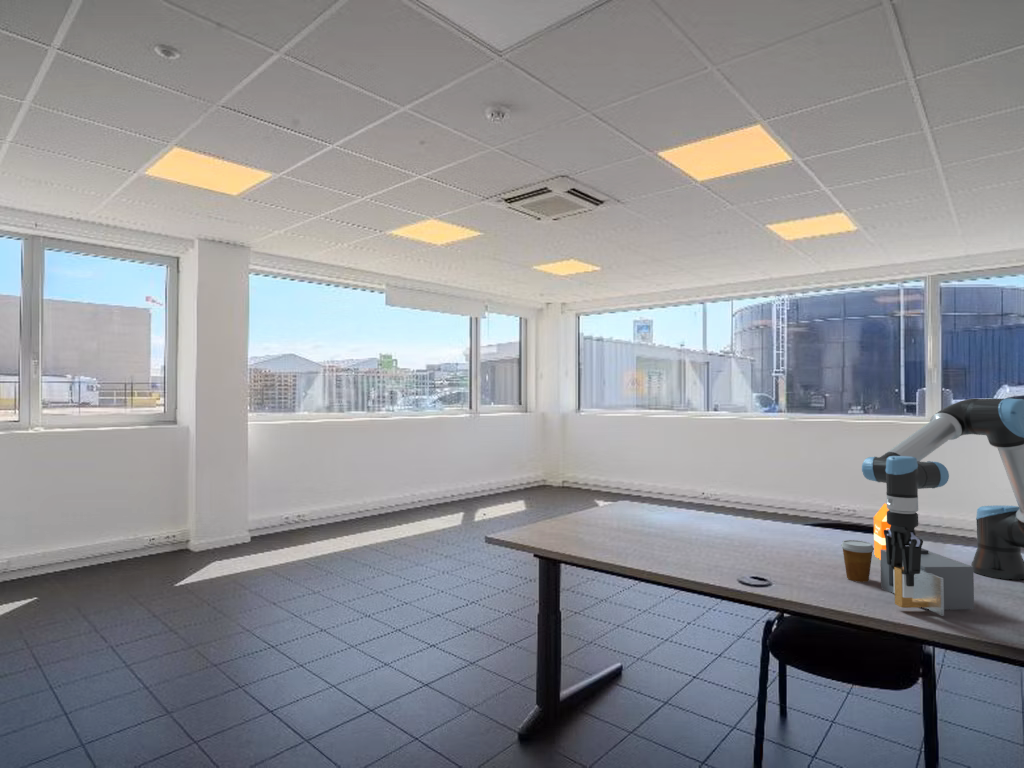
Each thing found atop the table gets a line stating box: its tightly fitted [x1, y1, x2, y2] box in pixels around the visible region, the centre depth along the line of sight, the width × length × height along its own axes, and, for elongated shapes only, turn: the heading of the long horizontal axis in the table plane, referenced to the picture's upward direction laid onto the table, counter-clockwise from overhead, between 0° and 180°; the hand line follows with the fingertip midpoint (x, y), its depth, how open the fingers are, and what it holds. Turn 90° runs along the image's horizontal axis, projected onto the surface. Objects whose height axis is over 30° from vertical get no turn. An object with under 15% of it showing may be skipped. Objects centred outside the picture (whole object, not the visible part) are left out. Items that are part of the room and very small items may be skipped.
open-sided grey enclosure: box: [880, 547, 975, 611], centre depth 182 cm, size 14×20×13 cm
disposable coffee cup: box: [840, 539, 874, 583], centre depth 201 cm, size 10×10×12 cm
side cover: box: [894, 567, 945, 617], centre depth 171 cm, size 8×13×11 cm, turn 2°
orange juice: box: [872, 503, 891, 561], centre depth 227 cm, size 8×9×20 cm
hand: (903, 594), depth 171 cm, fingers closed on side cover, 3 cm apart
